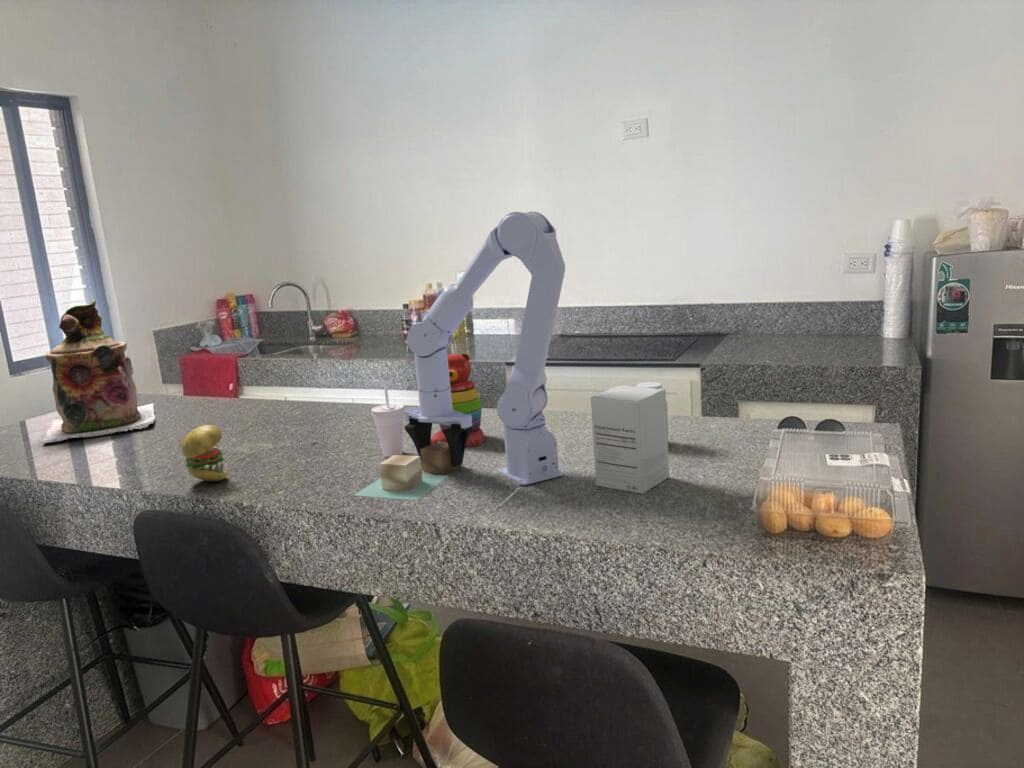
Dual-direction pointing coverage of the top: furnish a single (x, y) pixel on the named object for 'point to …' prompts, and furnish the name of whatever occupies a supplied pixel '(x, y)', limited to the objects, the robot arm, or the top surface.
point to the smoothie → (389, 426)
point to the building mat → (413, 494)
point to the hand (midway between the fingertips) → (441, 462)
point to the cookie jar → (92, 381)
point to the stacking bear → (463, 399)
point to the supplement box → (630, 438)
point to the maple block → (401, 472)
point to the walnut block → (437, 458)
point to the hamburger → (204, 453)
